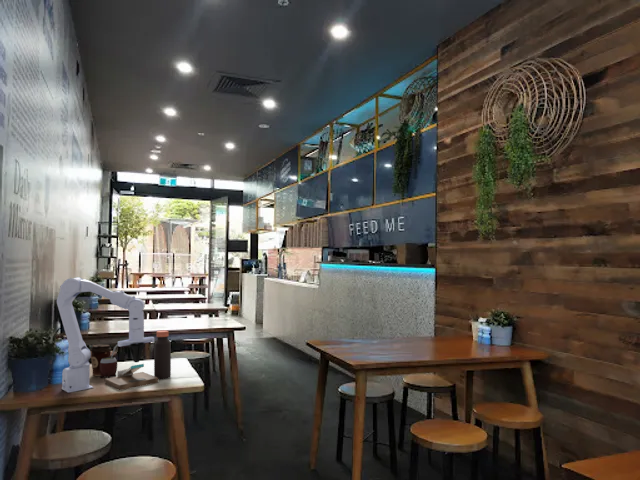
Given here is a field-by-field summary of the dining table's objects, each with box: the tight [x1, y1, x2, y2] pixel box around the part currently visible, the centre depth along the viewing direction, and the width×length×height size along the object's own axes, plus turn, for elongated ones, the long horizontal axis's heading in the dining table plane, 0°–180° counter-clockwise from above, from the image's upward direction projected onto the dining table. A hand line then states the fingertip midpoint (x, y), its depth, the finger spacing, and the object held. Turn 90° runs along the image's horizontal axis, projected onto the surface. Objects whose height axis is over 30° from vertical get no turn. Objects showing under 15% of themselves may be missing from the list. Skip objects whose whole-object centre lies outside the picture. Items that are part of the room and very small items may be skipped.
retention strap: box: [121, 363, 145, 376], centre depth 200 cm, size 5×12×1 cm, turn 45°
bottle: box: [153, 329, 172, 380], centre depth 209 cm, size 7×7×20 cm
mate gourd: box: [99, 343, 119, 379], centre depth 212 cm, size 8×8×15 cm
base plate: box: [104, 368, 159, 391], centre depth 201 cm, size 16×14×4 cm
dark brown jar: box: [89, 343, 112, 377], centre depth 215 cm, size 9×8×13 cm
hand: (136, 361), depth 198 cm, fingers closed
